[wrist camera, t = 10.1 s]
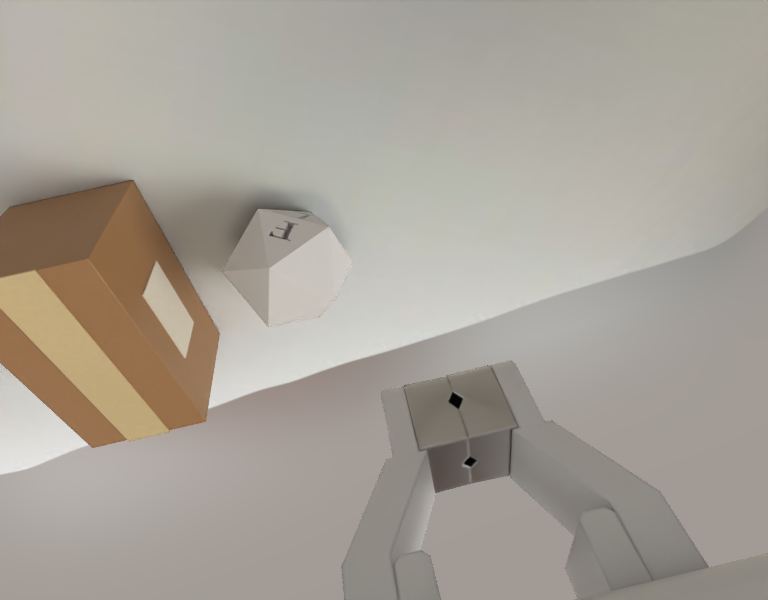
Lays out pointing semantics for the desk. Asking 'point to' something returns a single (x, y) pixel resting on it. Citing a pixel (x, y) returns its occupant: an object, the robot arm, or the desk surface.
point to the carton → (103, 316)
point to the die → (287, 266)
